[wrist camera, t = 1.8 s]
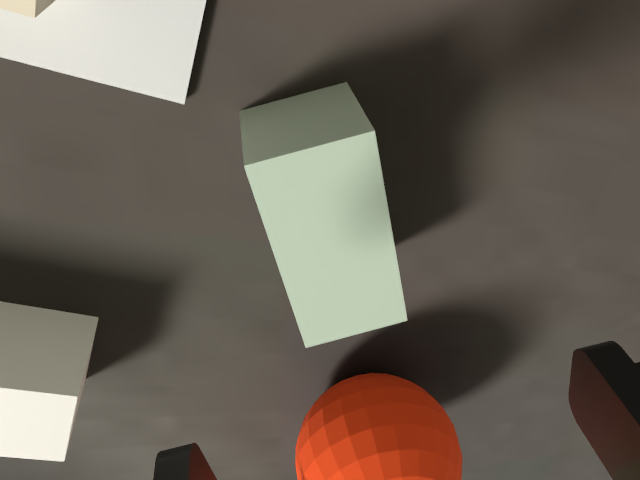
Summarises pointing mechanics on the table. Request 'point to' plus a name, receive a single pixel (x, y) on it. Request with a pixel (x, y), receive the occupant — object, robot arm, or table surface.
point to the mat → (111, 42)
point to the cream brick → (41, 378)
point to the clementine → (377, 433)
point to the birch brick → (26, 6)
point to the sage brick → (325, 211)
